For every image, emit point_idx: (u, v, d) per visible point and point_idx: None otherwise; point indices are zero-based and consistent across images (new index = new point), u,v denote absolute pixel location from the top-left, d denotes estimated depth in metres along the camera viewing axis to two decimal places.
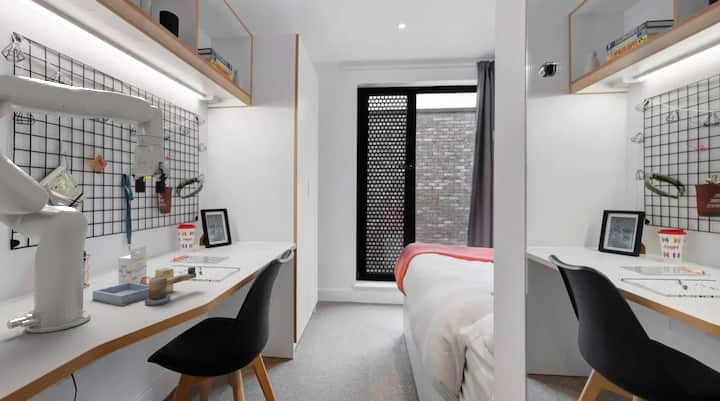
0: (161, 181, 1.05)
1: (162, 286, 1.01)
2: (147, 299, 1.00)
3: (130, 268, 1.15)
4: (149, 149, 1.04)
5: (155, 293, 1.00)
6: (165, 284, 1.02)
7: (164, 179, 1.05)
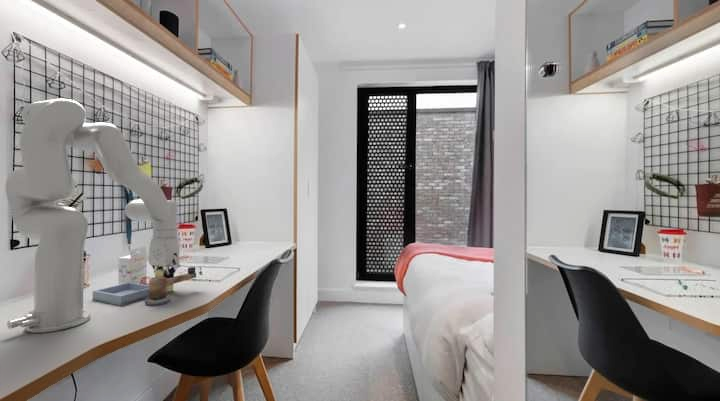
0: (170, 274, 1.12)
1: (162, 286, 1.01)
2: (147, 299, 1.00)
3: (130, 268, 1.15)
4: (164, 242, 1.10)
5: (155, 293, 1.00)
6: (165, 284, 1.02)
7: (173, 272, 1.13)
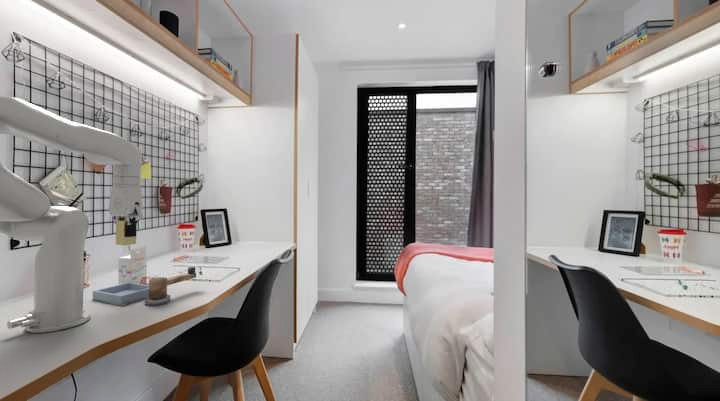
0: (131, 225, 1.04)
1: (162, 286, 1.01)
2: (147, 299, 1.00)
3: (130, 268, 1.15)
4: (125, 189, 1.02)
5: (155, 293, 1.00)
6: (165, 284, 1.02)
7: (135, 223, 1.05)
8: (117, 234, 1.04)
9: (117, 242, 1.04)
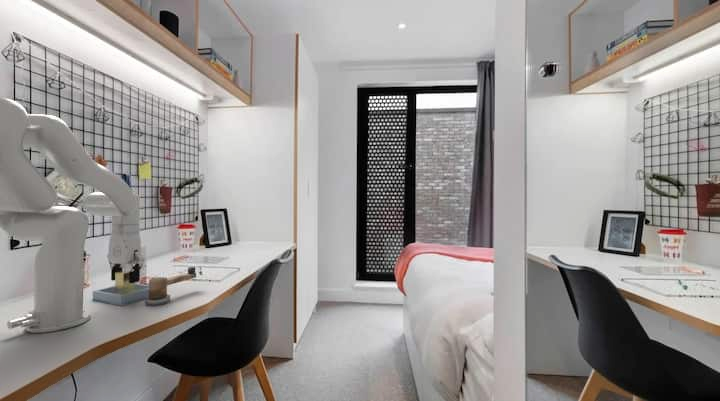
0: (135, 271, 1.04)
1: (162, 286, 1.01)
2: (147, 299, 1.00)
3: None
4: (124, 238, 1.03)
5: (155, 293, 1.00)
6: (165, 284, 1.02)
7: (138, 268, 1.04)
8: (116, 286, 1.05)
9: None
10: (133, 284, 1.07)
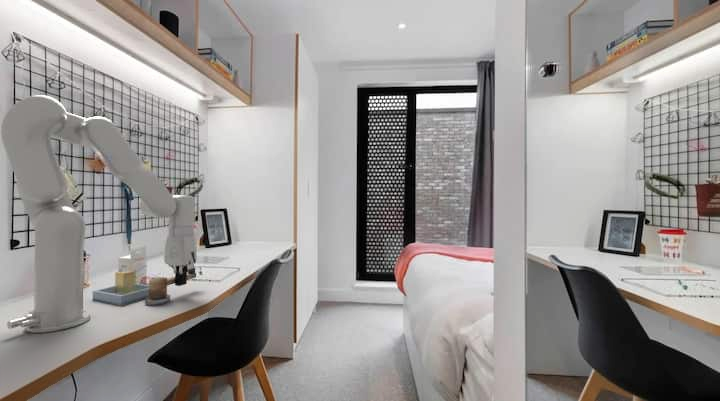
0: (183, 274, 1.06)
1: (162, 286, 1.01)
2: (147, 299, 1.00)
3: (130, 268, 1.15)
4: (181, 240, 1.03)
5: (155, 293, 1.00)
6: (165, 284, 1.02)
7: (186, 271, 1.06)
8: (116, 286, 1.05)
9: None
10: (133, 284, 1.07)
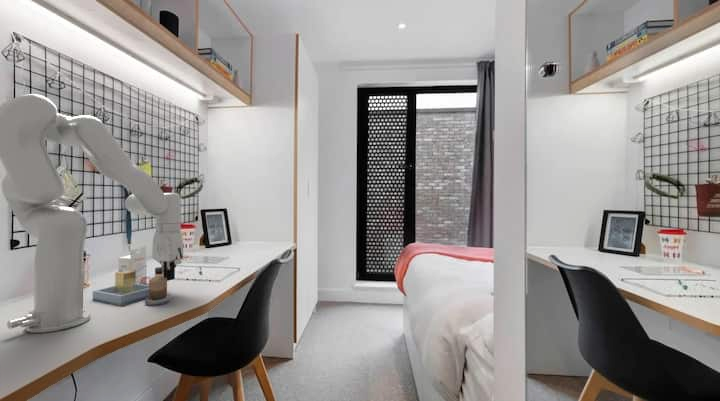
0: (170, 269, 1.09)
1: (166, 284, 1.04)
2: (147, 299, 1.00)
3: (130, 268, 1.15)
4: (167, 236, 1.06)
5: (163, 292, 1.02)
6: None
7: (173, 267, 1.10)
8: (116, 286, 1.05)
9: None
10: (133, 284, 1.07)
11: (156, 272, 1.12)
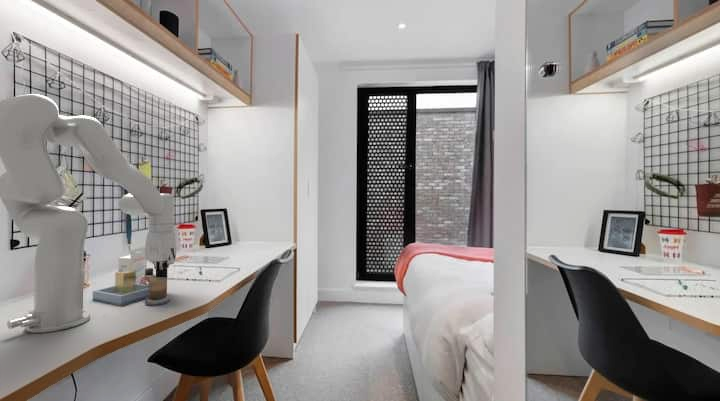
0: (163, 269, 1.10)
1: (166, 284, 1.04)
2: (147, 299, 1.00)
3: (130, 268, 1.15)
4: (161, 236, 1.07)
5: (164, 291, 1.02)
6: None
7: (166, 267, 1.10)
8: (116, 286, 1.05)
9: None
10: (133, 284, 1.07)
11: (147, 273, 1.10)
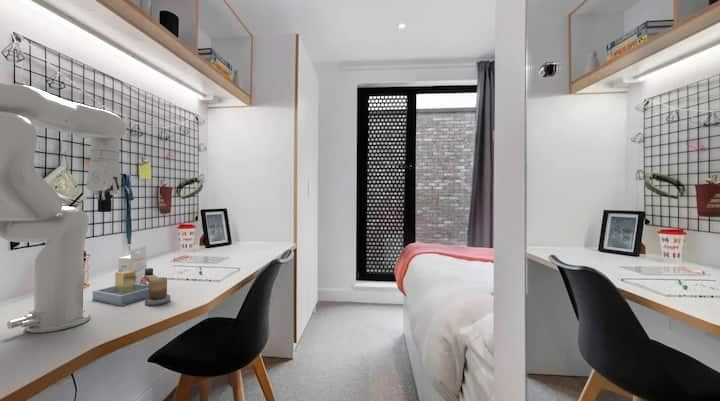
0: (106, 200, 1.04)
1: (166, 284, 1.04)
2: (147, 299, 1.00)
3: (130, 268, 1.15)
4: (102, 163, 1.01)
5: (164, 291, 1.02)
6: None
7: (109, 198, 1.05)
8: (116, 286, 1.05)
9: None
10: (133, 284, 1.07)
11: (147, 273, 1.10)
